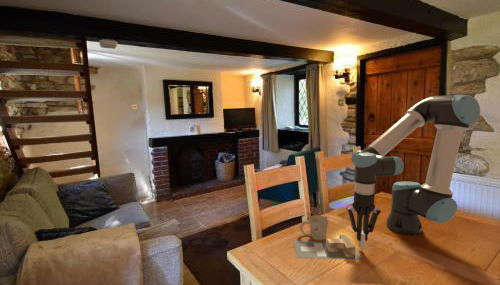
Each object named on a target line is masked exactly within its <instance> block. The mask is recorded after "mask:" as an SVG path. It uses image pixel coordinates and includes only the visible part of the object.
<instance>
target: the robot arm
mask: <svg viewBox="0 0 500 285" xmlns="http://www.w3.org/2000/svg"><path fill="white" fill-rule="evenodd" d="M480 115H481V107H480V103H479V102H478V99H476V98H475V97H474V96H472V95H469V94H449V95H433V96H432V95H431V96H429V97H427V98H424V99H422V100H421V101H418V102H417V103H415V104H414V105H413V106H411V107H410V108H408V110H406V111H405V113H404V116H402V117H401V118H400V119H399V120H398V121H396V123H394V124H393V125H392V126H390V128H388V129H387V130H386V131H384V132H383V133H382V134H381V135H379V137H377V139H375V140H373V142H371V144H369V145H368V146H366V147H365V148H364V149H363V150H360V149H359V150H355V151H354V152H353V153H352V155H351V158H350V159H351V162H352V164H353V165H354V186H353V187H354V188H353V191H354V192H353V203H352V204H351V206H349V207H348V206H347V207H346V211H347V213H348V216H349V220H350V224H351V229H352V231H353V232H355V233H356V240H357V241H358V247H359V249H360V250H365V248H366V245H365V244H366V243H365V242H366V241H368V236H369V234H370V233H373V232H374V229H375V225H376V223H377V220H378V217H379V215H380V214H381V213H382V211H381V210H380V209H379V208H378V207H376V205H375V197H376V196H375V195H376V194H375V193H376V179H377V178H378V177H379V178H380V177H389V176H390V177H392V176H398V175H400V174H402V172H403V171H404V169H405V168H404V165H405V164H404V162H403V160H402V158H400V157H399V156H385V155H387V154H388V153H389V152H391V151H392V150H393V149H394V148H395V147H396V146H397V145H399V144H400V143H401V142H402V141H403V140H404V139H406V138H407V137H408V136H410V134H411V133H413V132H414V131H415V130H416V129H417V128H422V127H424V126H425V125H426V124H429V123H433V122H434V124H433V126H434V127H435V128H436V134H435V138H434V142H433V148H432V151H431V156H430V160H429V164H428V169H427V173H426V178H425V181H424V182H425V183H423V184H421V183H419V182H415V181H405V180H404V181H402V180H401V181H396V182H394V183H393V184H392V189H391V203H390V204H391V206H390V207H391V208H390V212H389V214H388V216H387V217H386V227H387V228H388V229H389V230H391V231H393V232H396V233H399V234H402V235H408V236H416V235H420V234H421V233H423V226H422V222H421V219H420V217H422V218H425V219H427V221H432V222H434V223H436V224H445V223H447V222H449V221H450V220H452V219H453V217H454V216H455V215H456V214H457V210H458V204H457V201H456V200H455V199H454V198H453V195H454V193H453V192H452V190H451V189H450V187H451V182H452V179H453V176H454V175H453V174H454V171H455V166H456V163H457V162H456V161H457V157H458V153H459V148H460V145H461V141H462V137H463V133H465V132H466V131H468V130H469V127H470V125H472V124H475V123H476V122H477V121H479V120H478V119H479V118H480ZM354 212H356V220H355V215H354ZM371 213H372V214H371Z"/></svg>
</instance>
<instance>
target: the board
mask: <svg viewBox="0 0 500 285" xmlns="http://www.w3.org/2000/svg"><path fill="white" fill-rule="evenodd" d="M293 246H294V252H295V258H297V259H324V260H326V259H327V260H328V259H329V260H359V261H362V260H363V259H362V258H361V256H360V253H359V252H358V251H357V250H356V251H355V257H346V256H345V254H344V252H329V251H328V249H327V240H326V241H325V240H321V241H319V240H293Z"/></svg>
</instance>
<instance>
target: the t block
mask: <svg viewBox="0 0 500 285" xmlns="http://www.w3.org/2000/svg"><path fill="white" fill-rule="evenodd" d="M326 241H327V249H328V251H329V252H344V254H345V256H346V257H355V251H357V248H356V245H355V244H354V243H353V241H352V239H351V238H350V236H349V234H339V238H335V237H333V238H326Z"/></svg>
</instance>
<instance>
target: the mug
mask: <svg viewBox="0 0 500 285" xmlns="http://www.w3.org/2000/svg"><path fill="white" fill-rule="evenodd" d="M308 220H309V221H308ZM308 220H306V221H303V222H301V223H300V225H299V231H300V232H301V233H302V235H305V236H310V237H311V239H313V240H314V241H325V240H326V239H327V238H326V237H327V232H328V226H329V219H328V217H325V216H323V215H317V214H316V215H315V214H314V215H312V216H310V217H309V219H308ZM305 225H309V229H310V233H309V232H308V233H307V232H305V230H304V229H303V227H304V226H305Z"/></svg>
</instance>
